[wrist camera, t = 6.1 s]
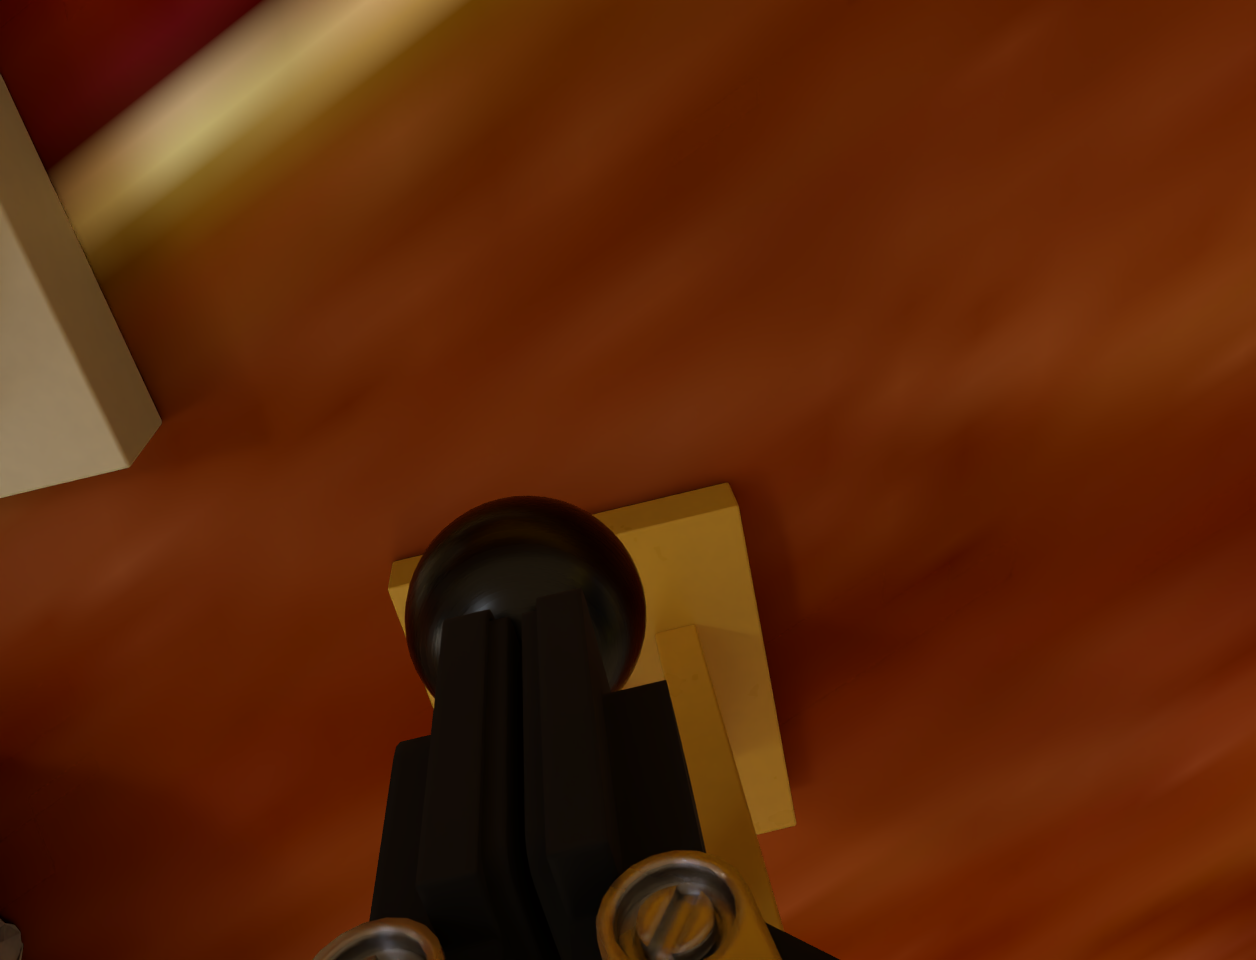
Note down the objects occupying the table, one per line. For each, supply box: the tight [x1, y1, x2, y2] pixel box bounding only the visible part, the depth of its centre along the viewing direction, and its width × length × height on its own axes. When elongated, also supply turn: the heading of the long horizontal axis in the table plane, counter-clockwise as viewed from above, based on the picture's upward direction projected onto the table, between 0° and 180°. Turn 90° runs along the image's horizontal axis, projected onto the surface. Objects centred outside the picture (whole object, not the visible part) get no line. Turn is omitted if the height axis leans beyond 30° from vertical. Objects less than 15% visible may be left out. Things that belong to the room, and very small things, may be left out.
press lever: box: [405, 496, 647, 698], centre depth 15 cm, size 12×3×3 cm, turn 12°
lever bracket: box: [388, 483, 796, 931], centre depth 20 cm, size 10×8×13 cm
